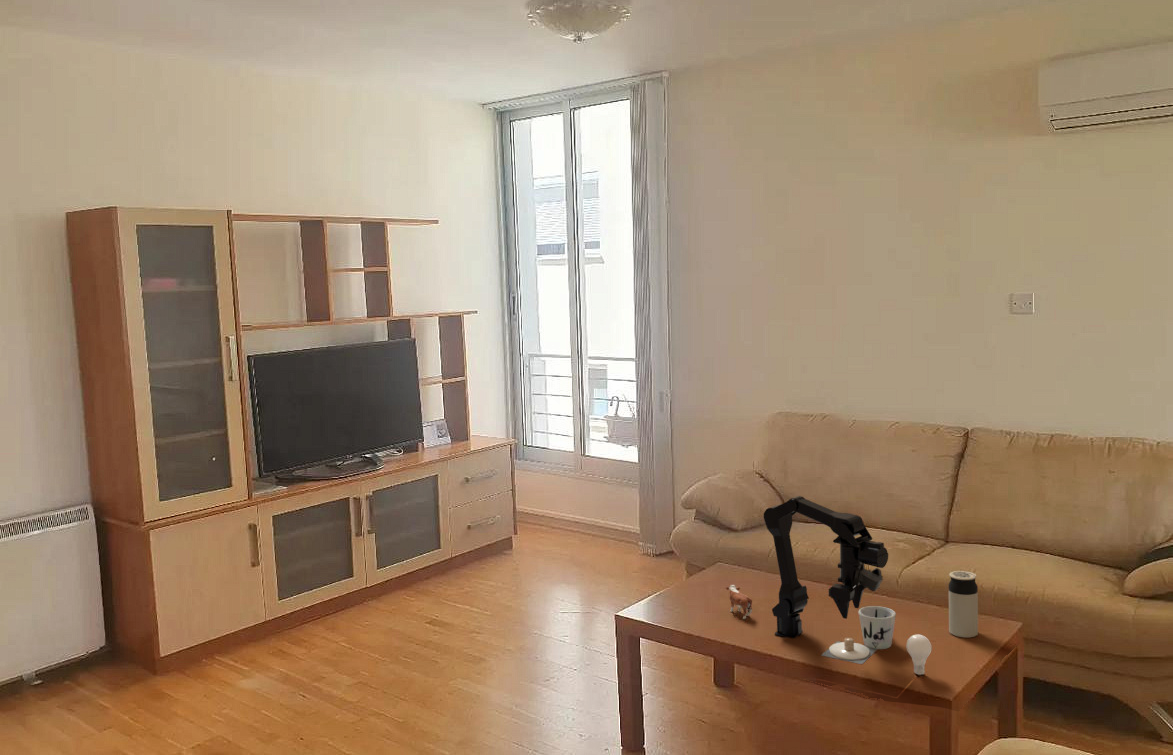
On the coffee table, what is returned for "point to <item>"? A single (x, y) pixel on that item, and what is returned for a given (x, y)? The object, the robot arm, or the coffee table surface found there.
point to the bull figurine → (740, 600)
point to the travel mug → (963, 604)
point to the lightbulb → (919, 651)
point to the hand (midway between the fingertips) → (850, 613)
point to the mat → (861, 661)
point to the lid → (849, 650)
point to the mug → (877, 626)
